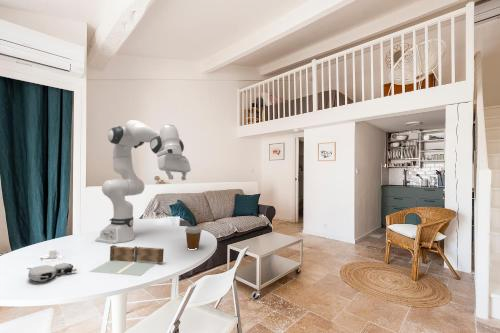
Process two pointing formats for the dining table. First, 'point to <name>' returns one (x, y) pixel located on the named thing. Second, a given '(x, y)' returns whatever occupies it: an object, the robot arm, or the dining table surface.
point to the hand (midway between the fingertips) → (177, 179)
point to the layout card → (125, 267)
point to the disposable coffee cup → (193, 237)
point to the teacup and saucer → (51, 255)
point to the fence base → (123, 254)
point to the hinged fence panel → (150, 254)
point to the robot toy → (49, 271)
